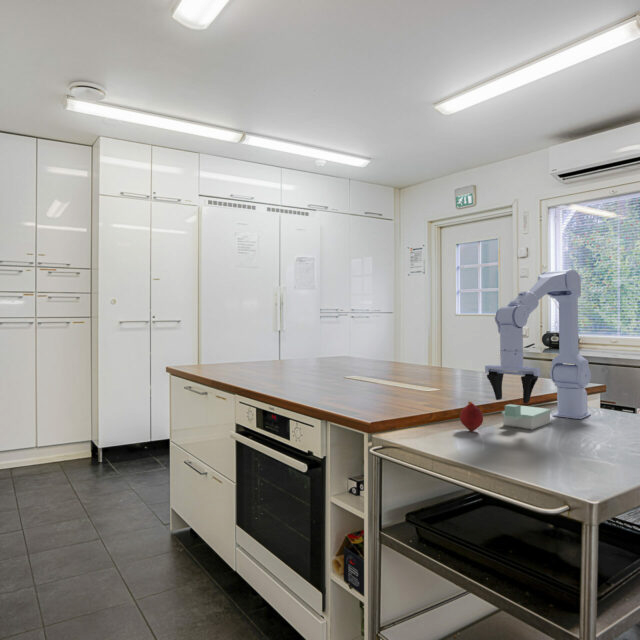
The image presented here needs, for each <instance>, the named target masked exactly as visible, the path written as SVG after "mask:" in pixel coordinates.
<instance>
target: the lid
mask: <svg viewBox="0 0 640 640" xmlns="http://www.w3.org/2000/svg"><path fill="white" fill-rule="evenodd" d="M547 413H550V414H551V413H552V409H551V408H545V407H537V406H527V405H519V404H512V403H509V404H506V405H504V411H501V415H502V416H503V415H504V418H505V419H512V420H517V419H520V418H530V419H534V418H537V417H539V416H542V415H545V414H547Z"/></svg>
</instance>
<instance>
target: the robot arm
mask: <svg viewBox="0 0 640 640" xmlns="http://www.w3.org/2000/svg"><path fill="white" fill-rule="evenodd" d="M581 282H582V278H581V276H580V274H579V273H578V271H577V270H576V269H574V268H570V269H565V270H555V271H554V270H553V271H543V272H541V273H540V274H539V275H537V281H536V283H535V284H533V286H532V287H531V288H530V289H529V291H527V290H526V291H525V290H524V291H520V292H519V293H518V296H516V297H515V298H514V299H513V300H511V301H510V302H509V303H508V304H507V305H506V306H501V307H500V308H498V309H497V310H496V313H495V316H494V322H495V324H496V326H497V332H498V334H499V346H500V347H499V348H500V349H499V351H500V352H499V353H500V355H499V356H500V360H499V361H500V365H498V364H497V365H493V364H492V365H491V364H488V365H487V364H486V365H484V373H485V374H486V373H488V374H486V377H487V379H488V381H489V384H490V385H491V387H492V389H493V392H494V393H493V394H494V396H495V400H496V401H500V400H502V399H503V379H504V375H506V374H507V375H520V381H521V384H522V401H523V404H528V403H530V401H531V396H532V392H533V390H534V386H535V385H536V383H537V381H538V379H539V377H540V376H541V372H542V371H541V367H529V366H524V333H523V332H524V331H523V330H524V329H523V327H525V326H526V325H527V322H528V319H529V317H530V314H531V313H533V311H534V310H535V311H536V309H537V307H538V306H539V303H540V302H539V301H540V300H541V299H542V298H543V297H544V296H545V295H547V296H549V297H550V298H552V299H555V300H556V302H557V303H558V335H559V336H558V340H559V341H558V343H559V345H558V346H559V348H558V350H559V354H558V355H556V356H555V357H554V358H553V359H552V360H551V367H550V370H549V376H550V380H551V382H552V383H554V386H555V387H556V398H557V399H556V401H557V403H556V404H557V412H554V413H553V414H551V415H552V416H553V417H558V418H559V417H562V418H568V419H574V420H575V419H576V420H581V419H585V418H586V417H588V416H591V415H592V412H588V407H589V406H588V393H587V390H586V388H587V386H588V385H589V383H590V382H591V377H592V373H591V369H590V366H589V360H588V359H586V358H585V357H583V355H581V354H580V353H579V351H580V350H579V304H578V303H579V298H580V297H581V296H582V295H581V293H582V283H581ZM521 375H522V376H521Z"/></svg>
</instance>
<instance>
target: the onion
mask: <svg viewBox="0 0 640 640" xmlns="http://www.w3.org/2000/svg"><path fill="white" fill-rule="evenodd" d="M459 418H460V423H461V424H462V426H464V427H465V428H466V429H467V430H468V431H469V432H474V431H475V430H477V429H478V428H479V427H481V425H482V423H483V421H484V415H483V412H482V411H481V409H480V408H479V407H478V406H476V404H474V403H473V402H472V401H470V400H469V401H468V402H467V405H466V406H465V407H463V408H462V409H461V412H460V413H459Z"/></svg>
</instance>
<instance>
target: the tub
mask: <svg viewBox="0 0 640 640" xmlns="http://www.w3.org/2000/svg"><path fill="white" fill-rule="evenodd" d="M502 416H503V417H502V418H503V419H502V420H503V426H506V427H511V428H512V427H513V428H518V429H523V430H524V429H525V430H531V431H532V430H535V429H538V428H540V427H543V426H545V425H548V424H550V423H551V412H550V413H547V414H545V415H542V416H539V417H537V418H534V419H530V418H520V419H517V420H512V419H505V418H504V415H502Z"/></svg>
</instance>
